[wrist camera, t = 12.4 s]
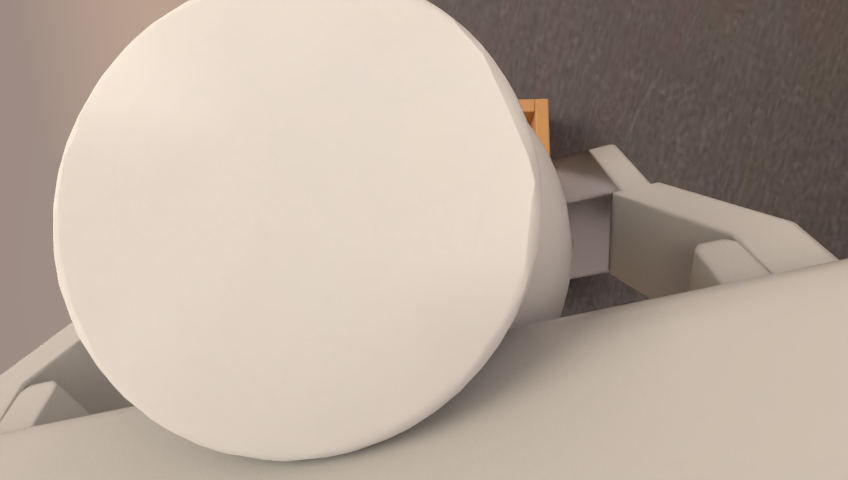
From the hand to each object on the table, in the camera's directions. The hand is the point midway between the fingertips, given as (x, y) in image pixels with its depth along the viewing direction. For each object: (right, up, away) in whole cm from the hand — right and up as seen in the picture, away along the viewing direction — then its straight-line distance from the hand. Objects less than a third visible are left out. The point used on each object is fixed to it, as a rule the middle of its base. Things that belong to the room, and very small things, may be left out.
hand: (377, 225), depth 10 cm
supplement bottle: (+1, -1, +7) cm, 7 cm away
